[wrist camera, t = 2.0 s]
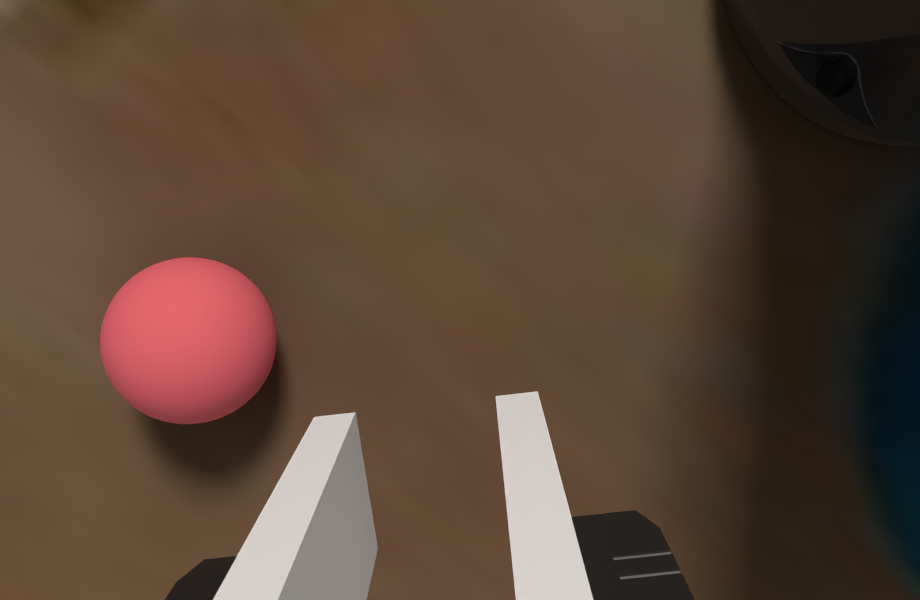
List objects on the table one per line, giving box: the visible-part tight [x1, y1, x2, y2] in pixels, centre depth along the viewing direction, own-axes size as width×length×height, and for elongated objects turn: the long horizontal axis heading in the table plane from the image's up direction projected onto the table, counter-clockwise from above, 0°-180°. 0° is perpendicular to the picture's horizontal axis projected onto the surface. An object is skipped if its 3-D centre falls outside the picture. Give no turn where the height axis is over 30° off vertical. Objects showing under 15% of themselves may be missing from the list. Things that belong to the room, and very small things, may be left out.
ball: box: [100, 257, 277, 424], centre depth 27 cm, size 6×6×6 cm
